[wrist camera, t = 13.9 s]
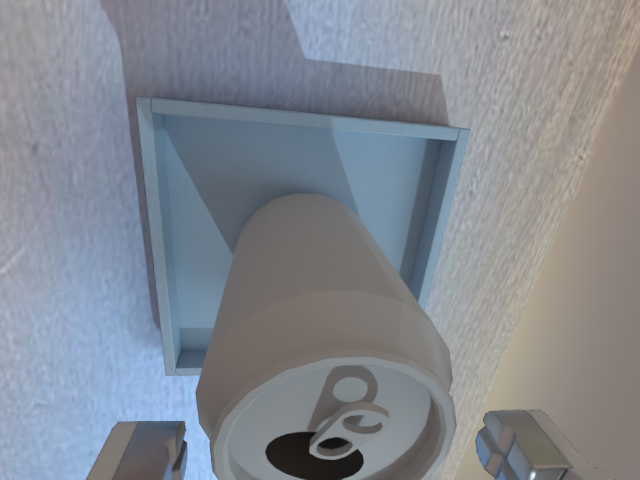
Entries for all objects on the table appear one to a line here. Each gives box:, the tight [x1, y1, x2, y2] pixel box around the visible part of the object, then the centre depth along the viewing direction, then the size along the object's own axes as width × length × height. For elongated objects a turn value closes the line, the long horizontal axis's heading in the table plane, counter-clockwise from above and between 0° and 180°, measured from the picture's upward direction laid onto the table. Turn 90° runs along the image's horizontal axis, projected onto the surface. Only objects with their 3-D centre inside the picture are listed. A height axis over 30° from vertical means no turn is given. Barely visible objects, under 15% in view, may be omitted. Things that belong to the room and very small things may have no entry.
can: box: [196, 193, 457, 480], centre depth 14 cm, size 8×8×12 cm
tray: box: [135, 97, 470, 376], centre depth 19 cm, size 15×15×2 cm
